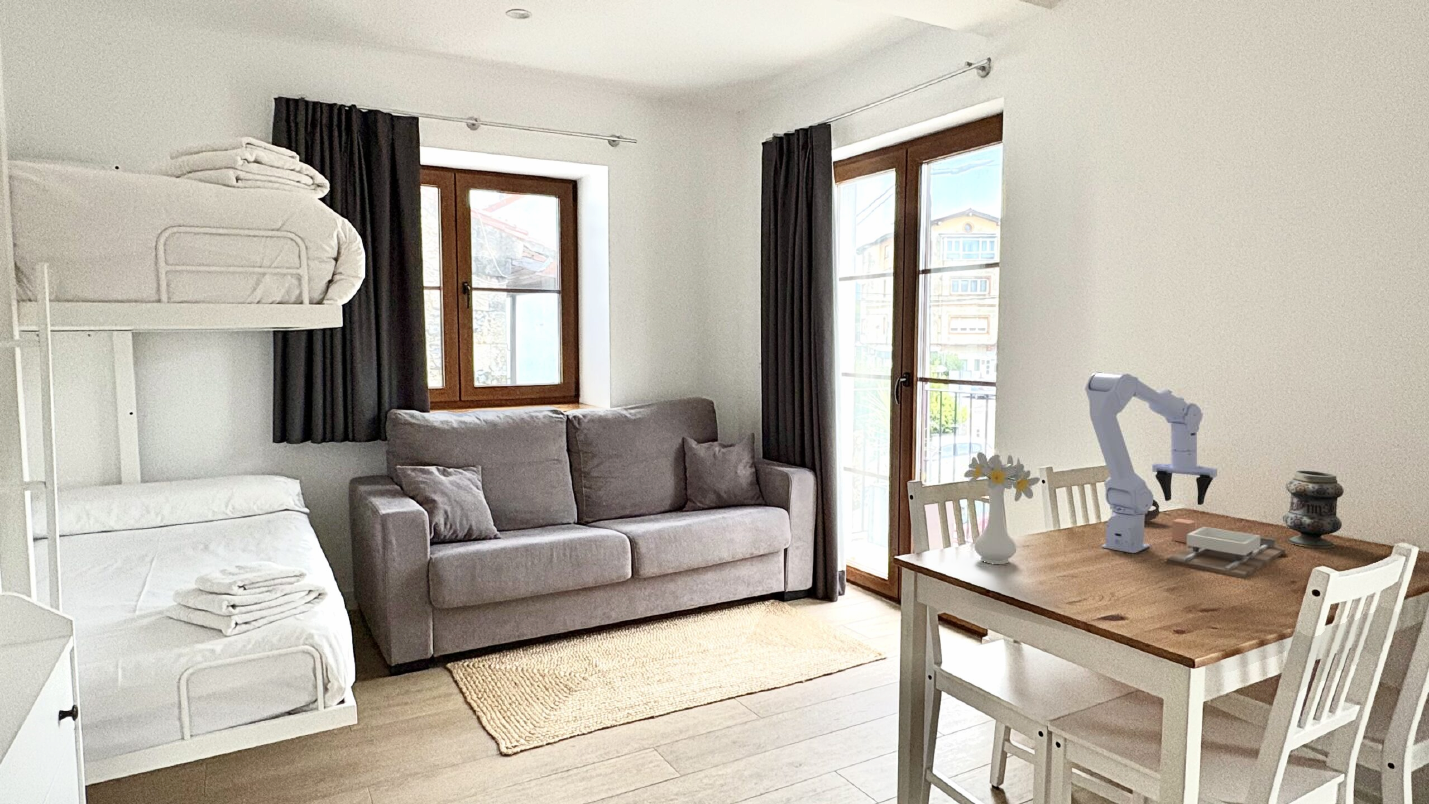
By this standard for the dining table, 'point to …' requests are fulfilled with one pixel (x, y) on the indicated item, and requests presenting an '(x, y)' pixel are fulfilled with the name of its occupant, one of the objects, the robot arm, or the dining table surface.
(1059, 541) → the dining table surface
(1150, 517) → the pottery mug
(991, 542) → the flower vase
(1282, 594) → the dining table surface
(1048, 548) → the dining table surface
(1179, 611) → the dining table surface
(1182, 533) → the terracotta block
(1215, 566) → the track board
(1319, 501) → the apothecary jar
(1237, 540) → the white square tray
